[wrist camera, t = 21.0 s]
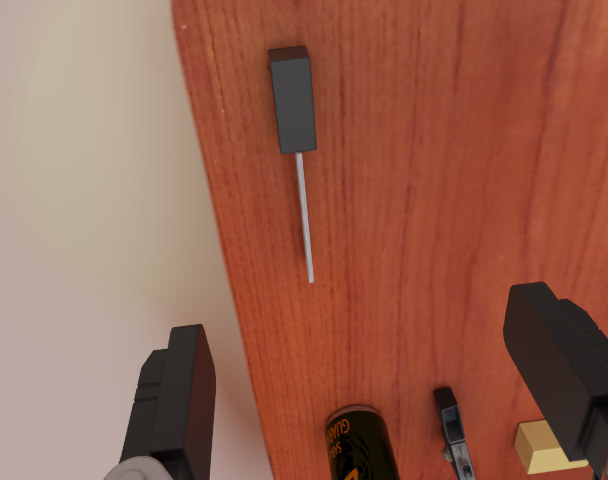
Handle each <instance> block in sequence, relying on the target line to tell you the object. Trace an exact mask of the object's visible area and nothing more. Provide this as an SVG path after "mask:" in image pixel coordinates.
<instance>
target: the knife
mask: <svg viewBox="0 0 608 480" xmlns="http://www.w3.org/2000/svg"><path fill="white" fill-rule="evenodd" d="M268 53H269V62H270V70H271V79H272V87H273V95H274V104H275V112H276V120H277V129H278V137H279V145H280V153H281V154H286V153H295V160H296V170H297V180H298V190H299V199H300V209H301V219H302V229H303V239H304V248H305V258H306V265H307V271H308V277H309V283H313V282H314V277H313V266H312V255H311V245H310V234H309V224H308V213H307V202H306V192H305V181H304V170H303V160H302V152H303V151H312V150H317V145H316V132H315V118H314V105H313V92H312V79H311V66H310V57H309V54H308V52H307V49H306V47H305V46H298V47H289V48H280V49H271V50H268Z"/></svg>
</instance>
